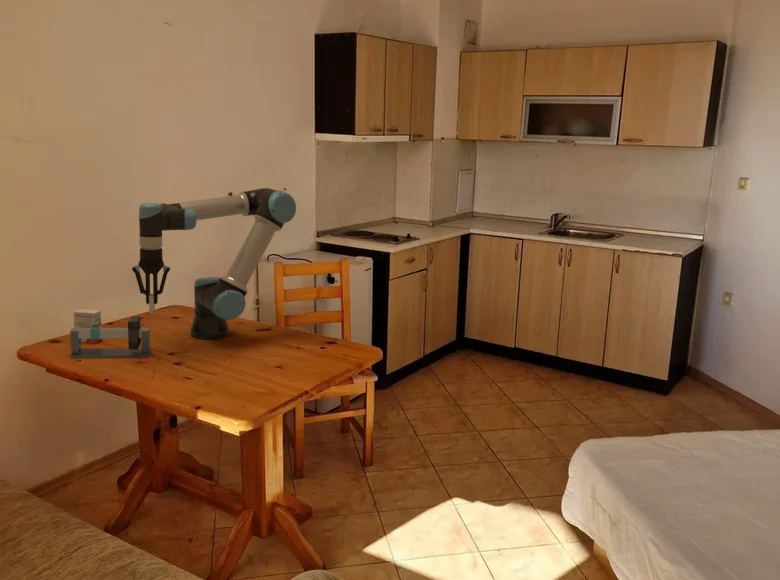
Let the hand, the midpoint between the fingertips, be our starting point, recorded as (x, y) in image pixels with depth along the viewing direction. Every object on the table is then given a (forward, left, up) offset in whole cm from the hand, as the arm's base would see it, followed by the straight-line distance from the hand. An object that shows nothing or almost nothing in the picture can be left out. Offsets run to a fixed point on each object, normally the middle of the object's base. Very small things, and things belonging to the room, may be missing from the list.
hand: (152, 312), depth 245 cm
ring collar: (+6, 0, -13) cm, 14 cm away
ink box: (+25, -16, -16) cm, 34 cm away
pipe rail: (+14, 0, -16) cm, 21 cm away
